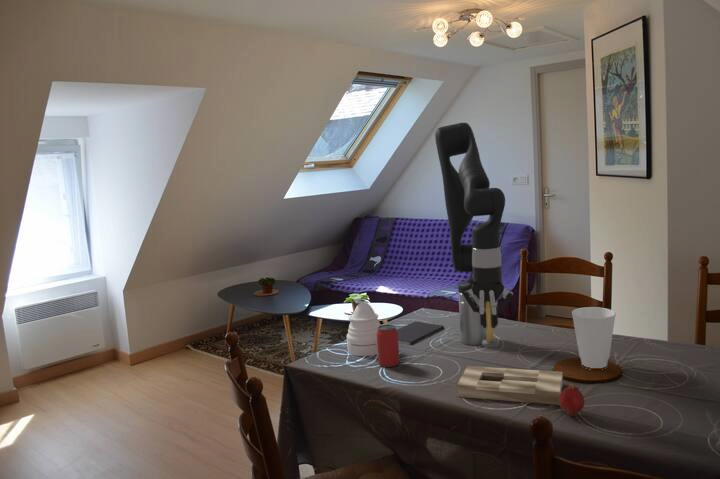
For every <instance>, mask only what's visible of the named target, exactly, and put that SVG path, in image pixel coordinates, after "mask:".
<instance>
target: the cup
mask: <svg viewBox="0 0 720 479" xmlns="http://www.w3.org/2000/svg"><path fill="white" fill-rule="evenodd" d="M571 315H572V320H573V327H574V332H575V337H576V344H577V350H578V356H579V358H580V362H581V366H582V365H584V366H586V367H590V368H603V367H606V366H607V367H608V360H609V359H610V355H611V347H612V340H613V333H614V326H615V320H616V319H615V318H616V312H615V311H614V310H612V309H610V308H604V307H599V306H598V307H596V306H588V307H587V306H585V307H580V308H575V309H573V310H572V311H571ZM607 367H606V368H607Z"/></svg>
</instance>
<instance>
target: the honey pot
mask: <svg viewBox="0 0 720 479" xmlns="http://www.w3.org/2000/svg"><path fill="white" fill-rule="evenodd" d="M353 301H354V303H355V304H357V305H356V307H355V309H354V310H353V313H352V314H349V315H348V320H349V321H350V322H349V325H348V329H347V332H348V333H347V334H346V345H347V347H346V348H347V354H349V355H352V356H355V357H368V356H369V357H370V356H376V355H378V347H377V331H378V327H379V326H381V325H382V324H381V323H380V321H379V319H378V318H379V314H378V313H376V312H375V311H374V309H373V308H372V306H371V305H370V304H369V303H368V302H367V301H365V300H364V301H362V297H361V296H355V297H353Z"/></svg>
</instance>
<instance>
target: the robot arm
mask: <svg viewBox="0 0 720 479" xmlns="http://www.w3.org/2000/svg"><path fill="white" fill-rule="evenodd" d="M434 139H435V145H436V150H437V156H438V161H439V165H440V170H441V175H442V183H443V194H444V202H445V210H446V214H447V215H446V216H447V220H448V227H449V234H450V248H451V250H450V251H451V260H452V261H451V262H452V266H453V269H454V270H455V271H456V272H460V273H468V272H469V273H472V277H471V278H469V279H465V280H463V281H461V282H459V283H458V287H457V290H458V293H457V294H458V308H459V312H458V313H459V330H460V331H459V333H460V342H461V343H462V344H464V345H471V346H478V345H482V341H483V340H485V339H487V338H486V314H485V302H486V301H489V302H491V308H492V328H493V329H496V327H498V324H499V316H498V315H499V314H500V313H504V311H505V309H506V308H507V306H508V304H509V303H510V301H511V299H512V297H513V295H514V292H513V291H512V290H507V289H506V288H505V286H504V284H503V274H502V273H503V272H502V271H503V270H502V254H501V248H500V246H501V245H500V241H501V240H500V231H501V230H500V229H501V224H502V223H501V222H502V217H503V214H504V210H505V207H506V196H505V193H504V192H503V190H502V189H501V188H498V187H490V184H491V183H490V179H489V177H488V175H487V173H486V171H485V169H484V167H483V164H482V161H481V157H480V152H479V148H478V145H477V141H476V137H475V134H474V131H473V129H472V127H471V125H470V124H469V123H467V122H458V123H454V124H448V125H443V126H440V127H438V128H436V130H435V138H434ZM464 154H465V155H464ZM460 155H464V157H463V159H462V160H461V162H460V165H459V168H458V170H457V169H456V168H455V166H453V164H452V161H451V157H455V156H460ZM481 216H488V219H487V221H484V222H482V223H479V224H476V225H475V226H473V227H472V229H471V237H472V238H471V240H472V241H471V242H472V243H468V244H466V243H463V242H462V239H463V236H464V234H465V231H466V229H467V228H468V226H469V225H470V224H471V222H472V220H473V218H474V217H481ZM502 294H503V296H502V297H503V299H504V300H503V302H502V303H501V305H500V306H499V307H498V299H499V298H500V297H501V295H502Z"/></svg>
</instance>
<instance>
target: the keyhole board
mask: <svg viewBox="0 0 720 479" xmlns="http://www.w3.org/2000/svg"><path fill="white" fill-rule="evenodd" d="M563 373H564V372H563V371H553V370H538V369H536V370H535V369H520V368H519V369H518V368H507V367H505V368H504V367H488V366H473V365H471V366H470V365H467V366H466V368H465V369H464V371H463V374H462V375H461V376H460V378H459V380H458V382H457V385H456V388H457V391H456V392H457V397H458V398H468V399H469V398H470V399H483V400H494V401H496V400H498V401H508V402H509V401H510V402H519V403H531V404H544V405H545V404H546V405H557V406H560V403H559V396H560V394H561V392H562V391H563V384H564V381H563V380H564V377H563V376H564V375H563Z"/></svg>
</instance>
